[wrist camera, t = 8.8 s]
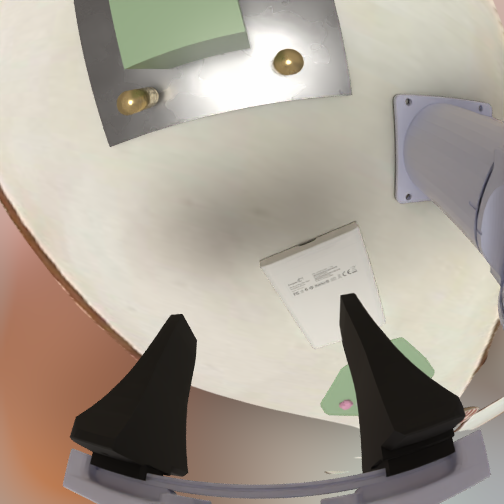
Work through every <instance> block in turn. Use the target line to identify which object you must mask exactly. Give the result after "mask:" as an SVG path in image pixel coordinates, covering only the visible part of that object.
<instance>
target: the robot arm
mask: <svg viewBox="0 0 504 504" xmlns="http://www.w3.org/2000/svg"><path fill="white" fill-rule="evenodd" d="M406 99H409V104H408V105H406V103H405V101H406ZM479 106H480V109H479ZM394 114H395V133H396V192H395V198H396V200H397V201H398V202H399V203H411V202H420V201H429V200H432V201H433V202H434V203H435V204H436V205H437V206H438V207H439V208H440V209H441V210H442V211H443V212H444V213H445V214H446V215H447V216H448V217H449V218H450V219H451V220H452V221H453V222H454V223H455V225H456V226H457V227H458V228H459V229H460V230H461V231H462V232H463V233H464V234H465V235H466V237H467V238H468V239H469V240H470V241H471V242H472V243H473V244H474V246H475V247H476V248H477V249H478V250H479V252H480V253H481V254H482V255H483V257H484V258H485V259H486V260H487V262H488V263H489V264H490V266H491V270H490V272H491V274H492V275H493V276H494V278H495V279H496V280H497V282H498V283H499V284H500V286H501V288H500V293H499V297H498V311H499V317H500V322H501V325H502V327H503V330H504V122H503V121H501V120H498V119H496V118H493V117H492V107H491V105H490V104H488V103H484V102H478V101H472V100H465V99H457V98H449V97H438V96H426V95H408V94H398V95H396V96H395V97H394ZM407 194H409V197H408V198H406V195H407ZM339 326H340V332H341V338H342V343H343V347H344V351H345V354H346V358H347V362H348V365H349V369H350V372H351V376H352V380H353V384H354V388H355V393H356V399H357V407H358V415H359V424H360V434H361V450H362V471H363V473H362V474H358V475H353V476H348V477H342V478H336V479H329V480H322V481H314V482H306V483H305V482H304V483H292V484H274V485H238V484H219V483H208V482H198V481H190V480H183V479H176V478H170V477H164V476H163V475H167V476H170V475H176V476H185V475H186V474H187V473H188V468H187V456H186V417H187V403H188V397H189V391H190V386H191V381H192V376H193V371H194V366H195V360H196V347H197V339H196V338H195V336H194V334H193V332H192V331H191V329H190V327H189V325H188V323H187V321H186V320H185V318H184V316H183V314H175V315H171V316H170V317H169V318H168V320H167V321H166V323H165V324H164V325H163V327H162V328H161V330H160V331H159V333H158V334H157V336H156V337H155V339H154V340H153V342H152V343H151V344H150V346H149V347H148V349H147V350H146V351H145V353H144V354H143V355H142V357H141V358H140V359H139V361H138V362H137V363H136V365H135V366H134V367H133V368H132V369H131V371H130V372H129V373H128V374H127V375H126V376H125V377H124V378H123V379H122V380H121V381H120V383H118V384H117V385H116V386H115V387H114V388H113V389H112V390H111V391H110V392H109V393H108V394H107V395H106V396H104V397H103V398H102V399H101V400H100V401H98V402H97V403H96V404H94V405H93V406H92V407H90V408H89V409H88V410H86V411H84V412H83V413H81V414H80V415H79V416H77V417H76V419H75V422H74V426H73V428H72V432H71V435H70V438H71V439H72V440H73V441H74V442H76V443H77V444H79V445H81V446H83V447H85V448H87V449H89V450H90V451H92V452H93V454H92V456H91V455H88V454H86V453H83V452H81V451H78V450H75V449H71V453H70V457H69V460H68V465H67V469H66V473H65V478H64V482H63V486H64V487H66V488H67V489H69V490H71V491H73V492H75V493H77V494H79V495H81V496H83V497H85V498H87V499H89V500H91V501H93V502H95V503H97V504H211V501H206V500H200V499H194V498H189V497H183V496H178V495H177V494H176V493H175V492H174V491H178V492H184V493H190V494H198V495H206V496H216V497H230V498H291V497H303V496H313V495H322V494H329V493H336V492H342V491H347V490H353V489H357V490H356V491H355V493H354V494H348V495H343V496H337V497H332V498H325V499H322V500H321V504H439V503H441V502H443V501H445V500H447V499H449V498H451V497H453V496H455V495H457V494H459V493H461V492H463V491H465V490H467V489H468V488H470V487H472V486H474V485H476V484H477V483H479V482H481V481H483V480H484V479H486V478H488V477H489V476H490V475H491V473H490V468H489V463H488V459H487V454H486V449H485V445H484V441H483V437H482V434H481V430H477V431H475V432H473V433H471V434H469V435H467V436H465V437H463V438H461V439H459V440H457V441H455V442H453V439H452V437H453V436H454V431H453V428H454V427H456V426H457V425H458V424H459V423H460V422H462V421H463V420H464V418H465V416H466V414H465V411H464V408H463V406H462V403H461V401H460V399H459V397H458V396H456V395H455V394H453V393H452V392H450V391H448V390H447V389H445V388H444V387H442V386H441V385H439V384H438V383H437V382H435V381H434V380H433V379H431V378H430V377H429V376H427V375H426V374H425V373H424V372H423V371H421V370H420V369H419V368H418V367H416V366H415V365H414V364H413V363H412V362H411V361H410V360H409V359H408V358H407V357H406V356H405V355H404V354H403V353H402V352H401V351H400V350H399V349H398V348H397V347H396V346H395V345H394V344H393V343H392V342H391V341H390V340H389V338H388V337H387V336H386V335H385V334H384V333H383V331H382V330H381V329H380V328H379V326H378V325H377V324H376V323H375V321H374V320H373V319H372V317H371V316H370V315H369V313H368V312H367V310H366V309H365V308H364V306H363V305H362V303H361V302H360V300H359V299H358V297H357V295H356V294H355V293H350V294H344V295H340V318H339ZM358 488H359V489H358Z"/></svg>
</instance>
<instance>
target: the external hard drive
mask: <svg viewBox="0 0 504 504" xmlns="http://www.w3.org/2000/svg"><path fill="white" fill-rule="evenodd" d="M260 268H261V269H262V271H263V272H264V274H265V275H266V277H267V278H268V280H269V282H270V283H271V285H272V286H273V288H274V289H275V291H276V293H277V294H278V296H279V297H280V299H281V300H282V302H283V303H284V305H285V306H286V308H287V309H288V311H289V313H290V314H291V316H292V317H293V319H294V320H295V322H296V323H297V325H298V326H299V328H300V329H301V331H302V332H303V334H304V335H305V337H306V338H307V340H308V341H309V343H310V344H311V346H312V347H313V348H314V349H317V348H321V347H324V346H327V345H330V344H333V343H336V342H339V341H342V338H341V332H340V326H339V318H340V295H344V294H350V293H355V294H356V295H357V297H358V299H359V300H360V302H361V303H362V305H363V306H364V308H365V309H366V310H367V312H368V313H369V315H370V316H371V317H372V319H373V320H374V321H375V323H376V324H377V325H378V326H379V327H380V326H382V325H383V324H385V322H386V320H385V316H384V312H383V308H382V304H381V300H380V296H379V292H378V288H377V285H376V281H375V277H374V274H373V270H372V267H371V263H370V260H369V257H368V254H367V250H366V247H365V244H364V241H363V238H362V235H361V232H360V229H359V226H358V224H357V223H356V221H355V222H353V223H351V224H348V225H346V226H344V227H341V228H339V229H336V230H334V231H332V232H329V233H327V234H324V235H322V236H320V237H317V238H316V239H315V240H314V241H312V242H310V243H307V244H305V245H303V246H299V245H298V246H295V247H293V248H290V249H288V250H285V251H283V252H281V253H278V254H276V255H273V256H271V257H268V258H266V259H263V260H261V261H260Z"/></svg>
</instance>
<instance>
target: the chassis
mask: <svg viewBox="0 0 504 504" xmlns="http://www.w3.org/2000/svg"><path fill="white" fill-rule="evenodd" d="M239 3H240V7H241V11H242V15H243V19H244V23H245V27H246V31H247V35H248V39H249V43H250V47H251V48H248V49H243V50H238V51H233V52H229V53H224V54H220V55H216V56H212V57H208V58H204V59H201V60H197V61H193V62H190V63H187V64H183V65H180V66H177V67H174V68H171V69H124V66H123V62H122V58H121V54H120V50H119V46H118V42H117V37H116V33H115V28H114V24H113V19H112V14H111V9H110V4H109V0H74V5H75V12H76V18H77V24H78V30H79V35H80V40H81V45H82V50H83V54H84V59H85V63H86V67H87V71H88V75H89V79H90V83H91V87H92V91H93V94H94V98H95V101H96V105H97V108H98V112H99V115H100V118H101V121H102V125H103V128H104V131H105V134H106V137H107V140H108V143H109V146H110V147H111V146H114V145H117V144H119V143H122V142H124V141H127V140H130V139H133V138H136V137H138V136H141V135H144V134H147V133H150V132H153V131H156V130H160V129H163V128H166V127H169V126H173V125H176V124H180V123H183V122H187V121H190V120H194V119H198V118H202V117H206V116H210V115H214V114H218V113H223V112H227V111H232V110H237V109H242V108H247V107H252V106H258V105H264V104H270V103H277V102H283V101H291V100H299V99H308V98H318V97H330V96H345V95H352V90H351V83H350V76H349V70H348V64H347V58H346V52H345V47H344V42H343V37H342V32H341V28H340V23H339V19H338V15H337V11H336V7H335V3H334V0H239Z"/></svg>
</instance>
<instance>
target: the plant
mask: <svg viewBox="0 0 504 504" xmlns="http://www.w3.org/2000/svg"><path fill="white" fill-rule="evenodd" d="M390 341H391V342H392V343H393V344H394V345H395V346H396V347H397V348H398V349H399V350H400V351H401V352H402V353H403V354H404V355H405V356H406V357H407V358H408V359H409V360H410V361H411V362H412V363H413V364H414V365H415V366H416V367H418V368H419V369H420V370H421V371H423V372H424V373H425V374H426V375H427V376H429V377H430V378H432V377H433V375H434V369H433V368H432V366H431V365H430V363H429V362H428V360H427V359H426V358H425V357H424V356H423V355H422V354H421V353H420V352H419V351H417V350H416V349H415V348H414V347H413V346H412V345H411V344H410V343H409V342H407V341H406V340H405V339H404V338H402V337H401V338H397V339H393V340H390ZM320 404H321V407H322V409H323V411H324V412H325V413H326V414H328V415H339V416H359V415H358V407H357V399H356V393H355V388H354V384H353V380H352V376H351V372H350V369H349V365H346V366H345V367H343V368H342V369H341V370H340V372H339V374H338V375H337V377H336V379H335V380H334V382H333V384H332V385H331V387H330V389H329V390H328V392H327V394H326V395H325V397H324V398H323V400H322V402H321V403H320Z"/></svg>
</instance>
